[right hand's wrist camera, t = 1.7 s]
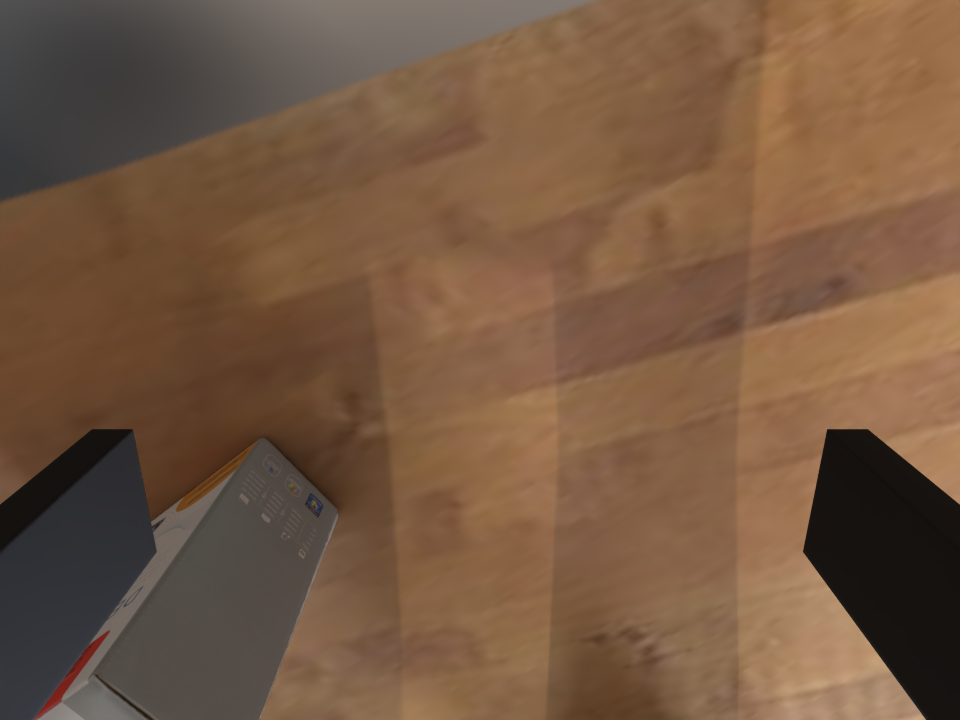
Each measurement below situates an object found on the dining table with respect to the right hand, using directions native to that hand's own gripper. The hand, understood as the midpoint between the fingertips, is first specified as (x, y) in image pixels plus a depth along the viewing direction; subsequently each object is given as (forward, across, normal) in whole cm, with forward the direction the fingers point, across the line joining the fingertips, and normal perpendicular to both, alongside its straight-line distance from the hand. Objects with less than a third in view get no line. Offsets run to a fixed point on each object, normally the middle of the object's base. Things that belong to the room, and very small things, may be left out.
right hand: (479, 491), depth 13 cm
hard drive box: (+28, +18, +20) cm, 39 cm away
